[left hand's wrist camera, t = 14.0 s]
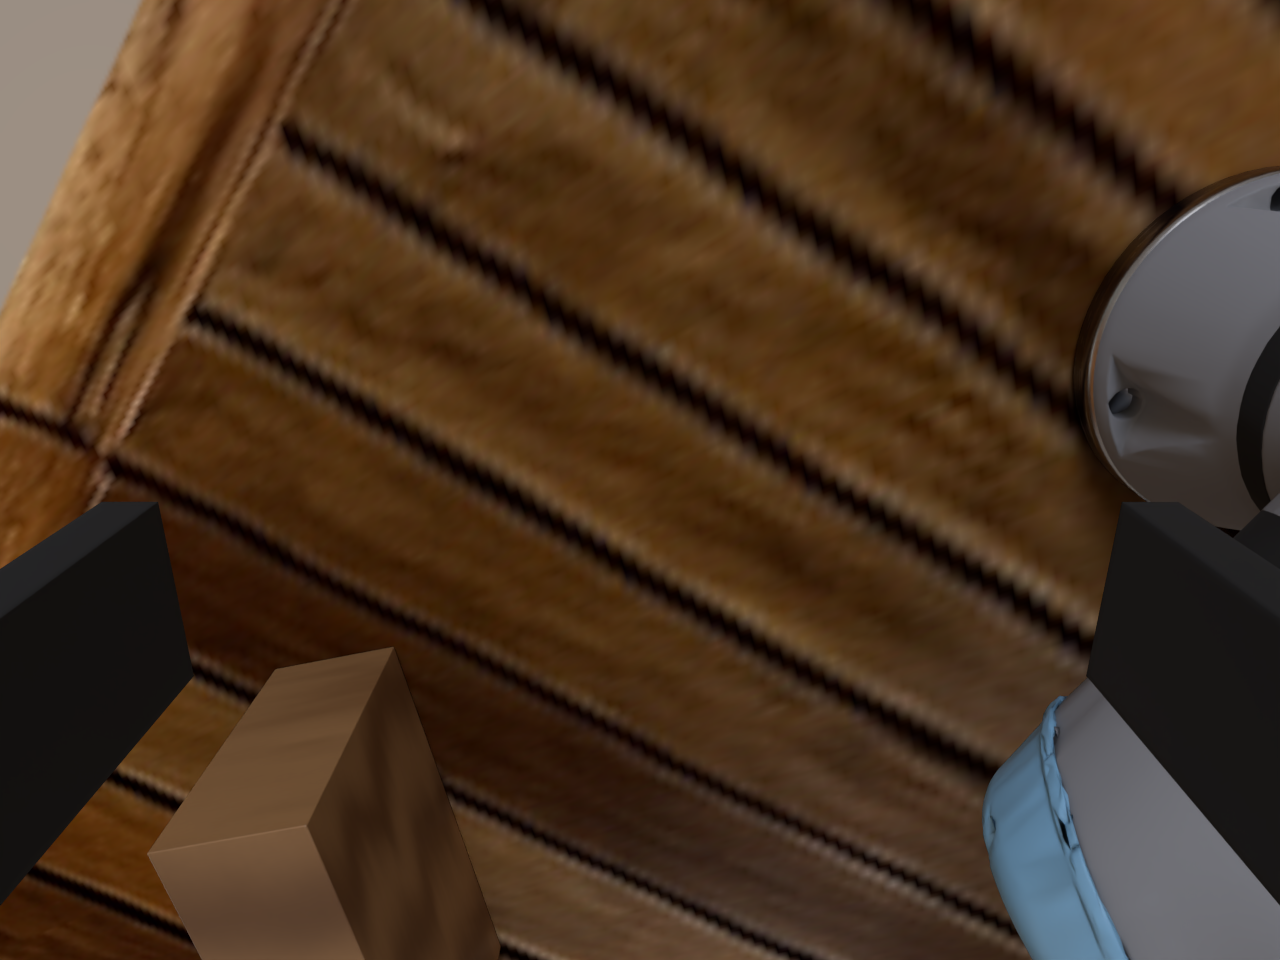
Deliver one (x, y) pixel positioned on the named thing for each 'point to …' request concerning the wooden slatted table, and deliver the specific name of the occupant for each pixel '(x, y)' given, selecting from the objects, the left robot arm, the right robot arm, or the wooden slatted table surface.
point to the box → (325, 830)
